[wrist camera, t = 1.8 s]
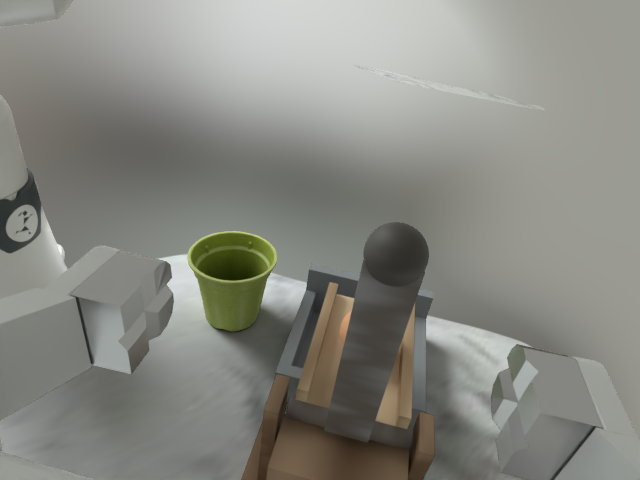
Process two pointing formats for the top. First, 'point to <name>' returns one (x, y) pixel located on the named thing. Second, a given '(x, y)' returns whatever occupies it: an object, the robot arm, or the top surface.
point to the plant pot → (232, 276)
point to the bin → (308, 319)
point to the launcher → (367, 346)
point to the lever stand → (331, 449)
